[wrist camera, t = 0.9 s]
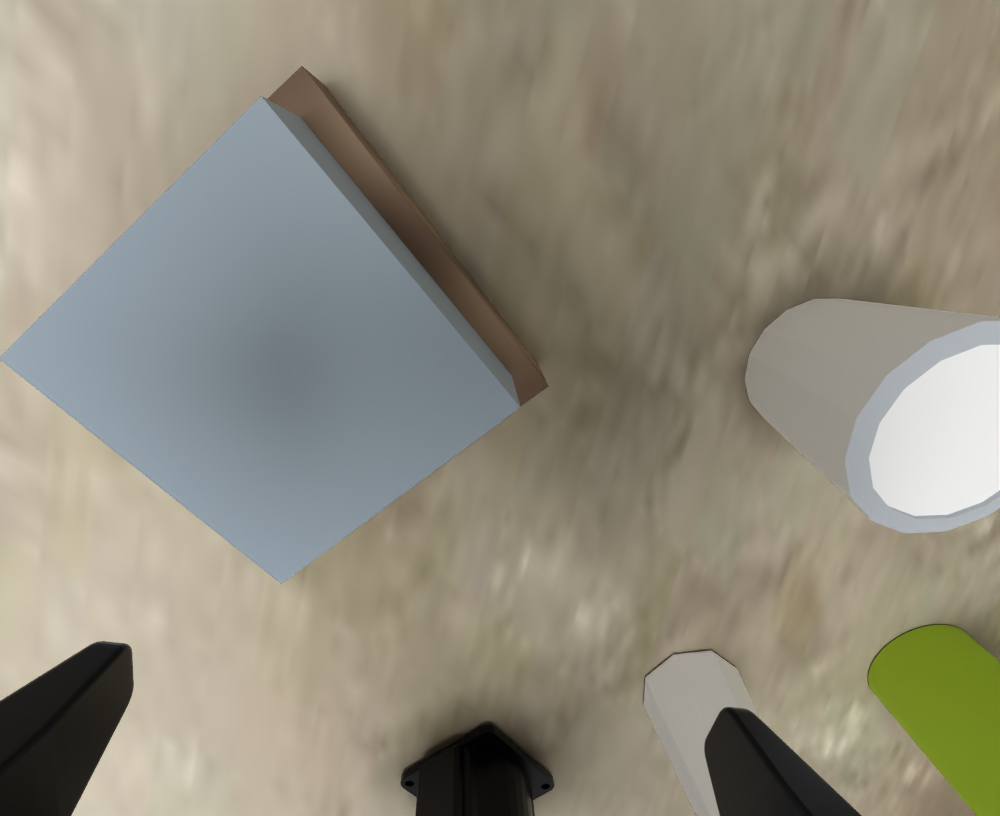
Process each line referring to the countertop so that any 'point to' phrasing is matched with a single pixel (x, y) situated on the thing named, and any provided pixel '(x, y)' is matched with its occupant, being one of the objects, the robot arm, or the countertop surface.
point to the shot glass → (888, 406)
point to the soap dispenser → (947, 706)
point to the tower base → (407, 223)
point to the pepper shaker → (692, 715)
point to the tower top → (268, 349)
